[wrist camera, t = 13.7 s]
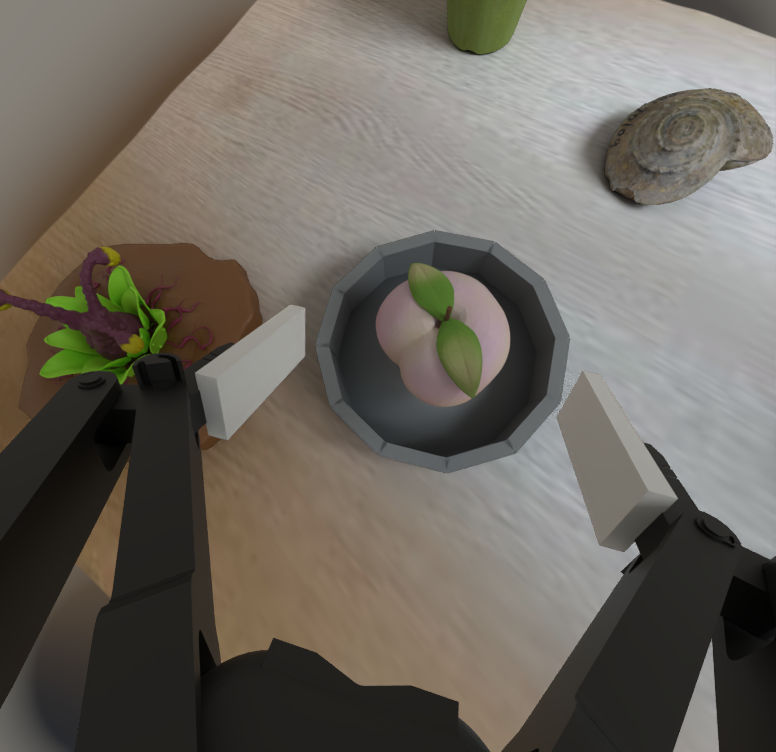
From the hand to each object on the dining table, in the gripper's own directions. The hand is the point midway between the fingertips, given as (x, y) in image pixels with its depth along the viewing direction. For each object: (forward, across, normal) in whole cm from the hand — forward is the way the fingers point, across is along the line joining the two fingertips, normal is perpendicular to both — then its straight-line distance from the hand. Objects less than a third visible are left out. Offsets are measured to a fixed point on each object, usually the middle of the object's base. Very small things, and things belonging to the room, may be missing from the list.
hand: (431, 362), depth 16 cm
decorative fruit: (+11, 0, -6) cm, 12 cm away
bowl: (+12, 0, -6) cm, 13 cm away
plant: (+8, -25, -10) cm, 28 cm away
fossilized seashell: (+28, +18, +10) cm, 35 cm away
